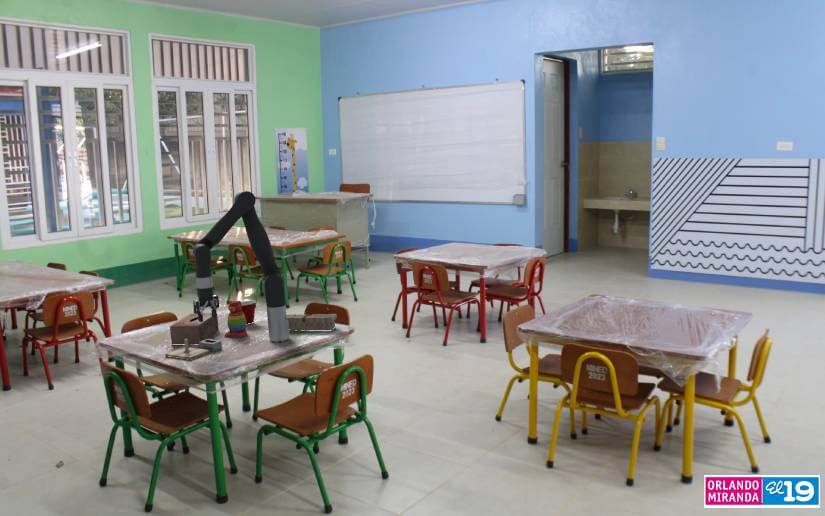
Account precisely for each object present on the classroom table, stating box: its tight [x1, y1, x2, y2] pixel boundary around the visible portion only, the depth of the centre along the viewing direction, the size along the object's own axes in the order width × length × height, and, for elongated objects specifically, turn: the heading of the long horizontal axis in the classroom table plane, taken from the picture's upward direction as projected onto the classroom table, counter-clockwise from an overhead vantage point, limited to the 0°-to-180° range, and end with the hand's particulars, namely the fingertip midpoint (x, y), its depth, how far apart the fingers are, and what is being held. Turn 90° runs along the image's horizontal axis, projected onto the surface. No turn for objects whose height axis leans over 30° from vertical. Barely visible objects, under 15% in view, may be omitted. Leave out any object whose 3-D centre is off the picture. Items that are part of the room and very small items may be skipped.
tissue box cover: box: [169, 312, 220, 345], centre depth 367 cm, size 26×14×10 cm, turn 175°
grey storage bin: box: [198, 338, 223, 353], centre depth 346 cm, size 9×6×4 cm, turn 61°
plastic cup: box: [241, 299, 257, 324], centre depth 392 cm, size 11×11×12 cm
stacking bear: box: [224, 300, 248, 339], centre depth 369 cm, size 11×10×18 cm
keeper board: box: [164, 339, 210, 361], centre depth 338 cm, size 16×12×8 cm
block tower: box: [286, 313, 338, 332], centre depth 373 cm, size 8×8×29 cm
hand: (207, 319), depth 344 cm, fingers open, 8 cm apart
